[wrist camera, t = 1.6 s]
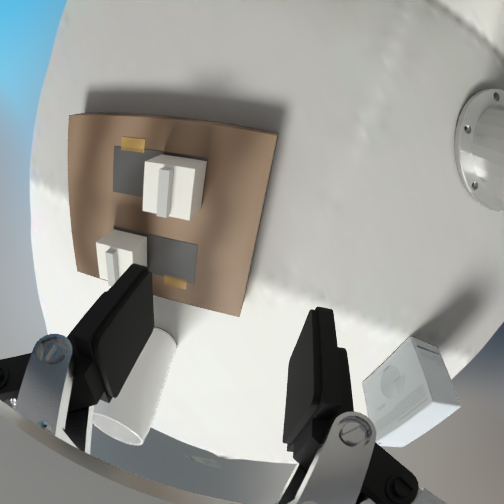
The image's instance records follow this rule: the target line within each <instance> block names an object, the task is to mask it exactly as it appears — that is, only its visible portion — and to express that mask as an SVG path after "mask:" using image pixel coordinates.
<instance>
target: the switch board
mask: <svg viewBox="0 0 504 504" xmlns="http://www.w3.org/2000/svg"><path fill="white" fill-rule="evenodd" d="M277 138H278V133H275V132H270V131H265V130H260V129H254V128H249V127H243V126H237V125H231V124H225V123H218V122H211V121H203V120H195V119H187V118H178V117H167V116H155V115H140V114H119V113H81V114H75V115H69V128H68V187H69V205H70V217H71V227H72V236H73V244H74V252H75V259H76V265H77V271H79V272H82V273H85V274H88V275H91V276H94V277H97V278H100V276H99V268H98V259H97V249H96V242H97V241H98V240H99V239H100V238H102V237H103V236H104V235H105V234H106V233H108V232H109V231H110V230H111V229H115V230H119V231H123V232H128V233H132V234H136V235H140V236H145V237H147V267H148V270H149V271H150V272H152V284H153V295H156V296H159V297H163V298H167V299H170V300H174V301H177V302H181V303H185V304H189V305H193V306H196V307H200V308H204V309H208V310H212V311H216V312H221V313H225V314H229V315H233V316H237V317H240V313H241V309H242V305H243V301H244V296H245V292H246V287H247V282H248V277H249V272H250V268H251V263H252V258H253V253H254V248H255V244H256V239H257V234H258V229H259V224H260V220H261V215H262V210H263V205H264V200H265V196H266V191H267V186H268V181H269V176H270V172H271V167H272V162H273V157H274V152H275V147H276V143H277ZM161 154H162V155H170V156H177V157H183V158H190V159H196V160H202V161H207V165H206V172H205V179H204V187H203V195H202V204H201V208H200V209H199V210H198V211H197V213H196V214H195V215H194V216H193V217H192V218H191V220H190V221H189V220H184V219H180V218H175V217H170V216H168V217H167V218H164V217H159V216H156V215H157V214H155V213H151V212H146V211H143V185H144V168H145V161H147V160H149V159H152V158H154V157H156V156H159V155H161ZM100 279H101V278H100ZM103 280H104V279H103ZM106 281H107V280H106Z"/></svg>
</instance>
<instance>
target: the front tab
mask: <svg viewBox="0 0 504 504" xmlns="http://www.w3.org/2000/svg"><path fill="white" fill-rule="evenodd" d="M206 165H207V161H202V160H196V159H190V158H183V157H177V156H170V155H162V154H161V155H159V156H156V157H154V158H152V159H149V160H147V161H145V168H144V185H143V211H146V212H151V213H155V214H157V215H156V216H159V217H164V218H167V217H168V216H170V217H175V218H180V219H184V220H189V221H190V220H191V218H192V217H193V216H194V215H195V214H196V213H197V211H198V210H199V209H200V208H201V204H202V195H203V187H204V179H205V172H206Z"/></svg>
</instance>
